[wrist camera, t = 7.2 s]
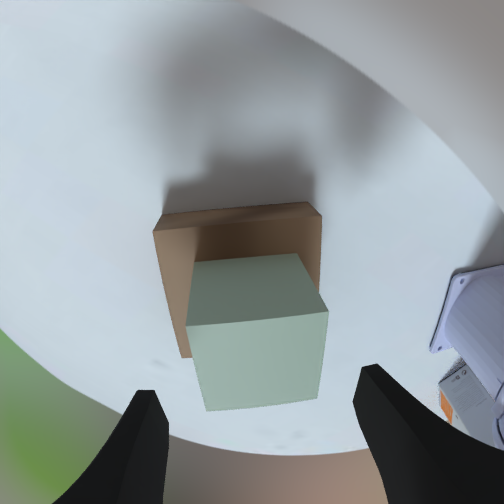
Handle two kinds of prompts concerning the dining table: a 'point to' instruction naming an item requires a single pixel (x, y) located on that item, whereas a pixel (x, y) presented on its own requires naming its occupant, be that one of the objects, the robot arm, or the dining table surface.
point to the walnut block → (230, 246)
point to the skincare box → (467, 405)
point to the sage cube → (256, 331)
